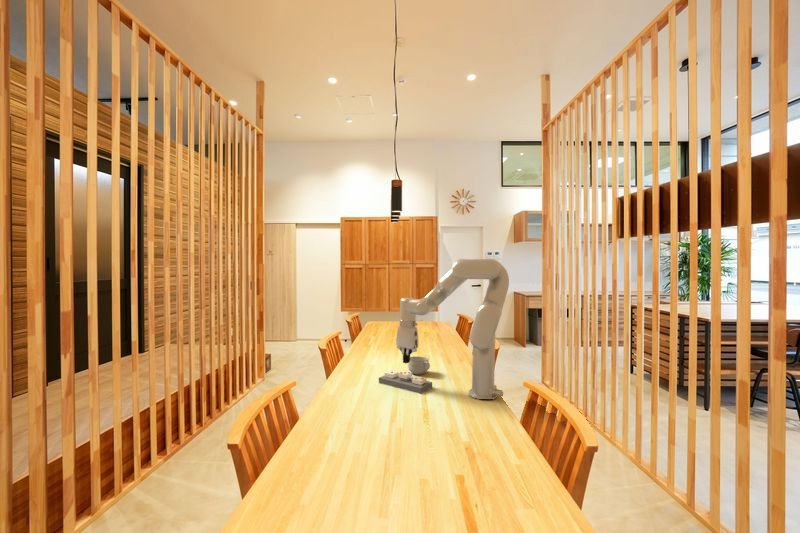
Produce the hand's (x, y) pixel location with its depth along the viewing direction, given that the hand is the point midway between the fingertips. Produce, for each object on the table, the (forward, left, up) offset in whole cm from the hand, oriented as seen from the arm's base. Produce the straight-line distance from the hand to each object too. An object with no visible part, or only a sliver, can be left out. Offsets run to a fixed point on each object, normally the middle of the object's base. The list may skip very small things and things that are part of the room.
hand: (406, 362), depth 174 cm
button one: (+9, 0, -11) cm, 14 cm away
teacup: (+5, -19, -11) cm, 23 cm away
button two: (-7, 0, -11) cm, 13 cm away
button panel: (+1, 0, -11) cm, 11 cm away
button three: (+1, 0, -9) cm, 9 cm away
